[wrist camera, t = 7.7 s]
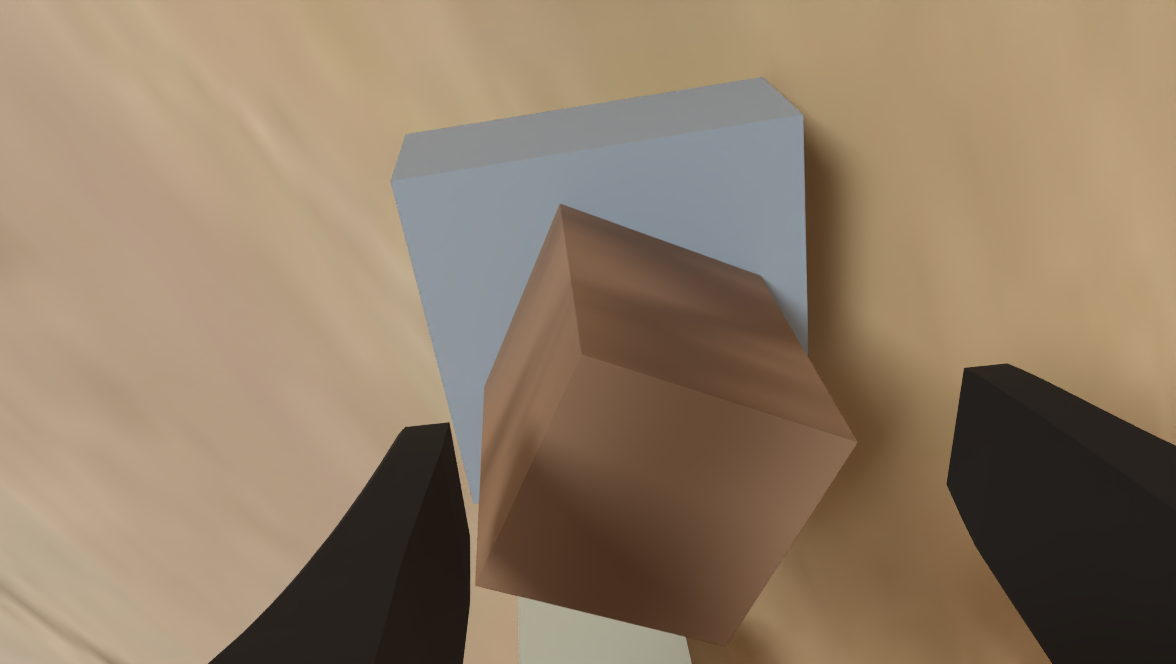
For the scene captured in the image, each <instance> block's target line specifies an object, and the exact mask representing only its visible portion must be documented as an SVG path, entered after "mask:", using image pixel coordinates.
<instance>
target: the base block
mask: <svg viewBox="0 0 1176 664" xmlns="http://www.w3.org/2000/svg"><path fill="white" fill-rule="evenodd" d="M391 185H392V189H393V193H394V197H395V200H396V204H397V208H398V212H399V216H400V220H401V224H402V228H403V231H404V235H405V239H406V243H407V247H408V251H409V255H410V259H411V262H412V266H413V270H414V274H415V278H416V282H417V286H418V290H419V294H420V297H421V301H422V305H423V309H424V313H425V317H426V321H427V325H428V328H429V332H430V336H431V340H432V344H433V348H434V352H435V356H436V359H437V363H438V367H439V371H440V375H441V379H442V383H443V387H444V390H445V394H446V398H447V402H448V406H449V410H450V414H451V418H452V422H453V425H454V429H455V433H456V437H457V441H458V445H459V449H460V453H461V456H462V460H463V464H464V468H465V472H466V476H467V480H468V484H469V487H470V491H471V495H472V499H473V503H474V504H475V503H479V492H480V470H481V447H482V425H483V402H484V386H485V384H486V381H487V379H488V377H489V374H490V372H491V369H492V367H493V364H494V362H495V360H496V357H497V355H498V352H499V350H500V347H501V345H502V343H503V340H504V338H505V335H506V333H507V330H508V328H509V326H510V323H511V321H512V318H513V316H514V313H515V311H516V309H517V306H518V304H519V301H520V299H521V297H522V294H523V292H524V289H525V287H526V284H527V282H528V280H529V277H530V275H531V272H532V270H533V267H534V265H535V263H536V260H537V258H538V255H539V253H540V250H541V248H542V246H543V243H544V241H545V238H546V236H547V234H548V231H549V229H550V226H551V224H552V221H553V219H554V217H555V214H556V212H557V209H558V207H559V204H563V205H566V206H568V207H571V208H574V209H577V210H580V211H582V212H585V213H588V214H591V215H594V216H596V217H599V218H602V219H605V220H608V221H610V222H613V223H616V224H619V225H621V226H624V227H627V228H630V229H633V230H635V231H638V232H641V233H644V234H646V235H649V236H652V237H655V238H658V239H660V240H663V241H666V242H669V243H671V244H674V245H677V246H680V247H683V248H685V249H688V250H691V251H694V252H696V253H699V254H702V255H705V256H708V257H710V258H713V259H716V260H719V261H721V262H724V263H727V264H730V265H733V266H735V267H738V268H741V269H744V270H747V271H749V272H752V273H755V274H758V275H760V276H761V277H762V279H763V281H764V283H765V284H766V286H767V288H768V289H769V291H770V293H771V295H772V296H773V298H774V300H775V301H776V303H777V305H778V307H779V308H780V310H781V312H782V313H783V315H784V317H785V319H786V320H787V322H788V324H789V325H790V327H791V329H792V331H793V332H794V334H795V336H796V337H797V339H798V341H799V343H800V344H801V346H802V348H803V349H804V351H805V353H806V355H807V356H808V314H807V268H806V222H805V176H804V130H803V114H802V113H801V112H800V111H799V110H798V109H796V108H795V107H794V106H793V105H792V104H791V103H790V102H789V101H788V100H787V99H786V98H785V97H783V96H782V95H781V94H780V93H779V92H778V91H777V90H776V89H775V88H774V87H773V86H772V85H771V84H769V83H768V82H767V81H766V80H765V79H764V78H763V77H760V78H754V79H748V80H742V81H735V82H729V83H723V84H717V85H710V86H704V87H698V88H692V89H685V90H679V91H673V92H667V93H661V94H654V95H648V96H642V97H636V98H629V99H623V100H617V101H611V102H604V103H598V104H592V105H586V106H579V107H573V108H567V109H561V110H554V111H548V112H542V113H536V114H529V115H523V116H517V117H511V118H504V119H498V120H492V121H486V122H479V123H473V124H467V125H461V126H455V127H448V128H442V129H436V130H430V131H423V132H417V133H411V134H406V135H405V138H404V141H403V144H402V147H401V150H400V153H399V157H398V160H397V163H396V166H395V169H394V172H393V175H392V178H391Z"/></svg>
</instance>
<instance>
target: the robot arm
mask: <svg viewBox="0 0 1176 664" xmlns="http://www.w3.org/2000/svg"><path fill="white" fill-rule="evenodd" d="M947 486H948V488H949V491H950V493H951V495H952V497H953V500H954V502H955V504H956V506H957V509H958V511H959V513H960V515H961V518H962V520H963V522H964V524H965V526H966V528H967V530H968V532H969V534H970V536H971V538H972V540H973V542H974V544H975V546H976V548H977V549H978V551H979V552H980V554H981V556H982V557H983V559H984V560H985V562H986V563H987V565H988V566H989V568H990V570H991V571H992V573H993V574H994V576H995V577H996V579H997V580H998V582H999V584H1000V585H1001V587H1002V588H1003V590H1004V591H1005V593H1006V594H1007V596H1008V597H1009V599H1010V600H1011V602H1012V603H1013V605H1014V606H1015V608H1016V609H1017V611H1018V612H1019V614H1020V615H1021V617H1022V618H1023V620H1024V622H1025V623H1026V625H1027V626H1028V628H1029V629H1030V631H1031V632H1032V634H1033V635H1034V637H1035V638H1036V640H1037V641H1038V643H1039V644H1040V646H1041V647H1042V649H1043V650H1044V652H1045V653H1046V655H1047V656H1048V658H1049V659H1050V661H1051V662H1052V664H1176V446H1175V445H1173V444H1171V443H1169V442H1167V441H1165V440H1162V439H1160V438H1158V437H1156V436H1154V435H1152V434H1150V433H1148V432H1146V431H1144V430H1142V429H1140V428H1138V427H1136V426H1134V425H1132V424H1130V423H1128V422H1126V421H1124V420H1122V419H1120V418H1118V417H1116V416H1114V415H1112V414H1110V413H1108V412H1106V411H1104V410H1102V409H1100V408H1098V407H1096V406H1094V405H1092V404H1090V403H1088V402H1087V401H1085V400H1083V399H1081V398H1079V397H1077V396H1075V395H1073V394H1071V393H1069V392H1067V391H1065V390H1063V389H1061V388H1059V387H1057V386H1055V385H1053V384H1051V383H1049V382H1047V381H1045V380H1043V379H1041V378H1039V377H1037V376H1035V375H1033V374H1030V373H1028V372H1026V371H1024V370H1022V369H1019V368H1017V367H1014V366H1012V365H1010V364H998V365H988V366H979V367H969V368H964V372H963V379H962V386H961V392H960V399H959V405H958V412H957V419H956V425H955V432H954V439H953V445H952V452H951V458H950V465H949V472H948V478H947ZM469 606H470V534H469V529H468V523H467V518H466V512H465V507H464V501H463V495H462V490H461V484H460V479H459V473H458V468H457V462H456V457H455V451H454V446H453V440H452V434H451V429H450V423H440V424H430V425H421V426H411V427H405V428H404V429H403V430H402V431H401V432H400V434H399V435H398V436H397V438H396V439H395V441H394V443H393V444H392V446H391V447H390V449H389V451H388V452H387V454H386V455H385V457H384V458H383V460H382V462H381V463H380V465H379V466H378V468H377V469H376V471H375V472H374V474H373V475H372V477H371V478H370V480H369V481H368V483H367V484H366V486H365V487H364V489H363V490H362V492H361V493H360V495H359V496H358V497H357V499H356V500H355V501H354V503H353V504H352V506H351V507H350V508H349V510H348V511H347V513H346V514H345V515H344V517H343V518H342V520H341V521H340V522H339V524H338V525H337V526H336V528H335V529H334V530H333V532H332V533H331V534H330V536H329V537H328V538H327V539H326V541H325V542H324V543H323V544H322V546H321V547H320V548H319V549H318V550H317V552H316V553H315V554H314V555H313V557H312V558H311V559H310V560H309V562H308V563H307V564H306V565H305V566H304V568H303V569H302V570H301V571H300V573H299V574H298V575H297V576H296V577H295V578H294V580H293V581H292V582H291V583H290V584H289V585H288V586H287V587H286V589H285V590H284V591H283V592H282V593H281V594H280V595H279V596H278V597H277V598H276V600H275V601H274V602H273V603H272V604H271V605H270V606H269V607H268V608H267V609H266V610H265V611H264V612H263V613H262V614H261V615H260V616H259V617H258V618H257V619H256V620H255V621H254V622H253V623H252V624H251V625H250V626H249V627H248V628H247V629H246V630H245V631H244V632H243V633H242V634H241V635H240V636H239V637H238V638H236V639H235V640H234V641H233V642H232V643H231V644H230V645H229V646H227V647H226V648H225V649H224V650H223V651H222V652H221V653H220V654H218V655H217V656H216V657H215V658H214V659H213V660H212V661H210V662H209V663H208V664H463V658H464V650H465V641H466V633H467V624H468V615H469Z"/></svg>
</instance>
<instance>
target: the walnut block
mask: <svg viewBox="0 0 1176 664" xmlns="http://www.w3.org/2000/svg"><path fill="white" fill-rule="evenodd" d="M857 443H858V442H857V440H856V438H855V437H854V435H853V433H852V432H851V430H850V428H849V426H848V425H847V423H846V421H845V420H844V418H843V416H842V414H841V413H840V411H839V409H838V408H837V406H836V404H835V402H834V401H833V399H832V397H831V396H830V394H829V392H828V390H827V389H826V387H825V385H824V384H823V382H822V380H821V378H820V377H819V375H818V373H817V372H816V370H815V368H814V366H813V365H812V363H811V361H810V360H809V358H808V356H807V355H806V353H805V351H804V349H803V348H802V346H801V344H800V343H799V341H798V339H797V337H796V336H795V334H794V332H793V331H792V329H791V327H790V325H789V324H788V322H787V320H786V319H785V317H784V315H783V313H782V312H781V310H780V308H779V307H778V305H777V303H776V301H775V300H774V298H773V296H772V295H771V293H770V291H769V289H768V288H767V286H766V284H765V283H764V281H763V279H762V277H761V276H760V275H758V274H755V273H752V272H749V271H747V270H744V269H741V268H738V267H735V266H733V265H730V264H727V263H724V262H721V261H719V260H716V259H713V258H710V257H708V256H705V255H702V254H699V253H696V252H694V251H691V250H688V249H685V248H683V247H680V246H677V245H674V244H671V243H669V242H666V241H663V240H660V239H658V238H655V237H652V236H649V235H646V234H644V233H641V232H638V231H635V230H633V229H630V228H627V227H624V226H621V225H619V224H616V223H613V222H610V221H608V220H605V219H602V218H599V217H596V216H594V215H591V214H588V213H585V212H582V211H580V210H577V209H574V208H571V207H568V206H566V205H563V204H559V207H558V209H557V212H556V214H555V217H554V219H553V221H552V224H551V226H550V229H549V231H548V234H547V236H546V238H545V241H544V243H543V246H542V248H541V250H540V253H539V255H538V258H537V260H536V263H535V265H534V267H533V270H532V272H531V275H530V277H529V280H528V282H527V284H526V287H525V289H524V292H523V294H522V297H521V299H520V301H519V304H518V306H517V309H516V311H515V313H514V316H513V318H512V321H511V323H510V326H509V328H508V330H507V333H506V335H505V338H504V340H503V343H502V345H501V347H500V350H499V352H498V355H497V357H496V360H495V362H494V364H493V367H492V369H491V372H490V374H489V377H488V379H487V381H486V384H485V386H484V402H483V425H482V447H481V470H480V492H479V515H478V537H477V559H476V582H475V586H478V587H482V588H487V589H491V590H495V591H499V592H503V593H507V594H511V595H515V596H519V597H524V598H528V599H532V600H536V601H540V602H544V603H548V604H552V605H556V606H561V607H565V608H569V609H573V610H577V611H581V612H585V613H589V614H593V615H598V616H602V617H606V618H610V619H614V620H618V621H622V622H626V623H630V624H635V625H639V626H643V627H647V628H651V629H655V630H659V631H663V632H667V633H671V634H676V635H680V636H684V637H688V638H692V639H696V640H700V641H704V642H708V643H713V644H717V645H721V646H725V647H726V646H727V644H728V643H729V641H730V639H731V638H732V636H733V635H734V633H735V632H736V630H737V629H738V627H739V626H740V624H741V622H742V621H743V619H744V618H745V616H746V615H747V613H748V612H749V610H750V608H751V607H752V605H753V604H754V602H755V601H756V599H757V598H758V596H759V595H760V593H761V591H762V590H763V588H764V587H765V585H766V584H767V582H768V581H769V579H770V577H771V576H772V574H773V573H774V571H775V570H776V568H777V567H778V565H779V564H780V562H781V560H782V559H783V557H784V556H785V554H786V553H787V551H788V550H789V548H790V546H791V545H792V543H793V542H794V540H795V539H796V537H797V536H798V534H799V533H800V531H801V529H802V528H803V526H804V525H805V523H806V522H807V520H808V519H809V517H810V515H811V514H812V512H813V511H814V509H815V508H816V506H817V505H818V503H819V502H820V500H821V498H822V497H823V495H824V494H825V492H826V491H827V489H828V488H829V486H830V484H831V483H832V481H833V480H834V478H835V477H836V475H837V474H838V472H839V471H840V469H841V467H842V466H843V464H844V463H845V461H846V460H847V458H848V457H849V455H850V453H851V452H852V450H853V449H854V447H855V446H856V444H857Z"/></svg>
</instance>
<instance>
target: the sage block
mask: <svg viewBox="0 0 1176 664" xmlns="http://www.w3.org/2000/svg"><path fill="white" fill-rule="evenodd" d="M518 625H519V664H692V663H691V658H690V654H689V649H688V645H687V640H686V637H684V636H680V635H676V634H671V633H667V632H663V631H659V630H655V629H651V628H647V627H643V626H639V625H635V624H630V623H626V622H622V621H618V620H614V619H610V618H606V617H602V616H598V615H593V614H589V613H585V612H581V611H577V610H573V609H569V608H565V607H561V606H556V605H552V604H548V603H544V602H540V601H536V600H532V599H528V598H524V597H519V596H518Z"/></svg>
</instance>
